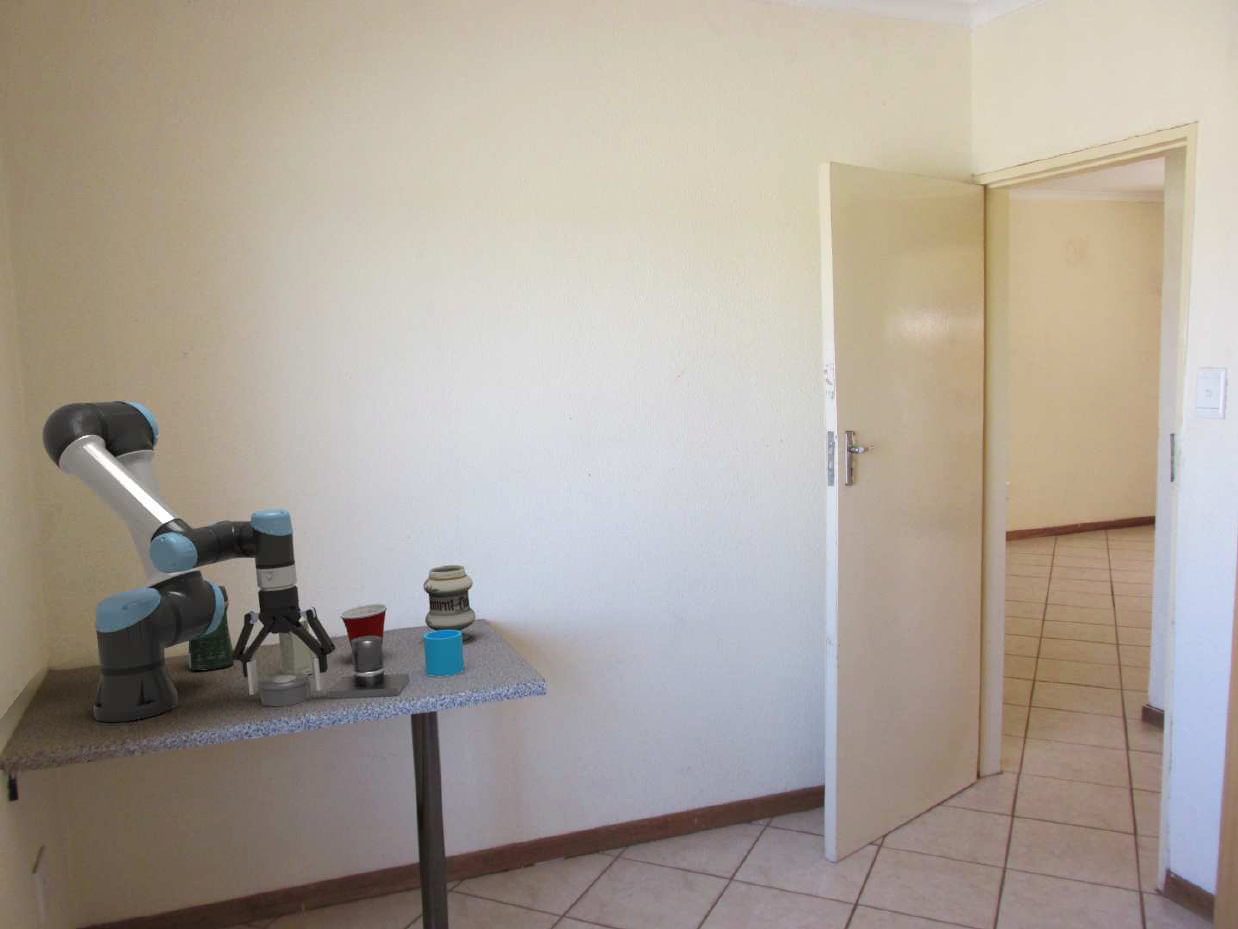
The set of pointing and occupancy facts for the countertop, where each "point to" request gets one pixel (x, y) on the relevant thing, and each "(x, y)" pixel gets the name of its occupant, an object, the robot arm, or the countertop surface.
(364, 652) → the gray flat-based fixture
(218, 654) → the coffee jar
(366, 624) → the plastic cup
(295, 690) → the cap
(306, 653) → the skincare box
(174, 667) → the countertop surface
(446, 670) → the mug
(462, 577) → the apothecary jar
